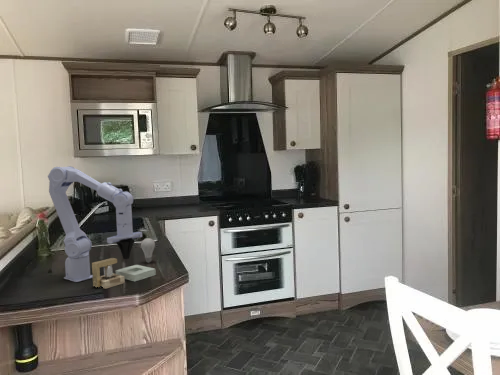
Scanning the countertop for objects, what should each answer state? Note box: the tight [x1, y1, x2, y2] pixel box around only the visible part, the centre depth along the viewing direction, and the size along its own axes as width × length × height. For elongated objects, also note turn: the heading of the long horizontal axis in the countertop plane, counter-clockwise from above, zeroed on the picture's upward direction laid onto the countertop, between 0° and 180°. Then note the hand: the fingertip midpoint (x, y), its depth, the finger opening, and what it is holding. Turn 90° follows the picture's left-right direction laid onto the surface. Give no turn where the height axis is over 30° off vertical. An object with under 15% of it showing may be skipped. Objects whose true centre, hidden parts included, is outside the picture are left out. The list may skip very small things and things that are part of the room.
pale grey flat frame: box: [114, 264, 157, 282], centre depth 156 cm, size 12×10×2 cm
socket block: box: [100, 273, 126, 289], centre depth 146 cm, size 8×8×2 cm
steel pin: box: [103, 264, 114, 280], centre depth 146 cm, size 3×3×7 cm
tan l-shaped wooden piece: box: [91, 257, 118, 288], centre depth 145 cm, size 3×8×9 cm, turn 143°
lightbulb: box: [140, 237, 156, 264], centre depth 175 cm, size 6×6×11 cm
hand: (126, 258), depth 152 cm, fingers closed
